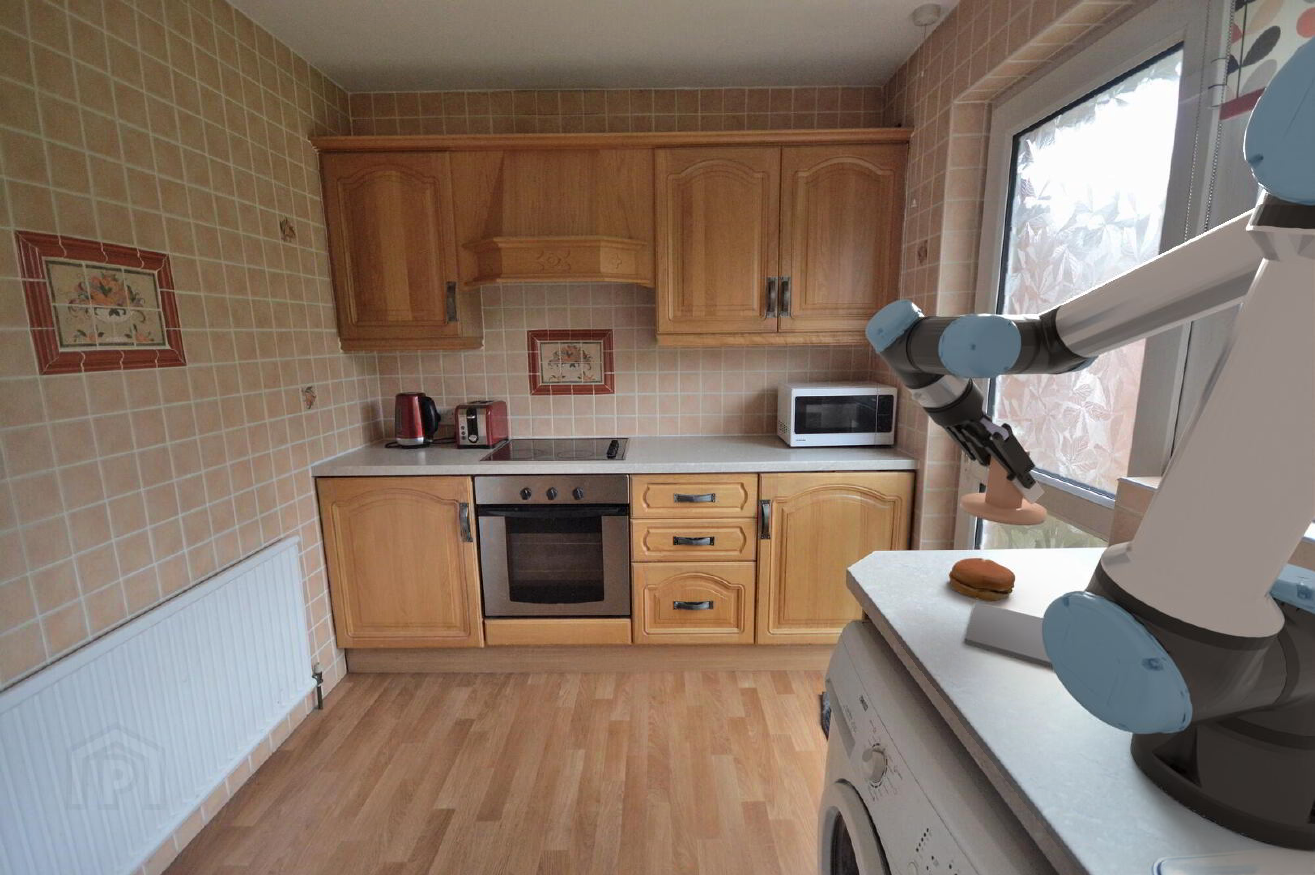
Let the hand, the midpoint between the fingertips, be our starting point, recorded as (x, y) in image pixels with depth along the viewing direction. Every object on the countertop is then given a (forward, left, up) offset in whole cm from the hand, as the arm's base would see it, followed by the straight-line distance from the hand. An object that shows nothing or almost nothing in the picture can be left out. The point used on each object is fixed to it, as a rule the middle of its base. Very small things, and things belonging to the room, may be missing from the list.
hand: (1025, 493), depth 89 cm
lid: (-3, +3, -3) cm, 5 cm away
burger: (+2, +5, -19) cm, 20 cm away
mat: (-12, -2, -18) cm, 22 cm away
